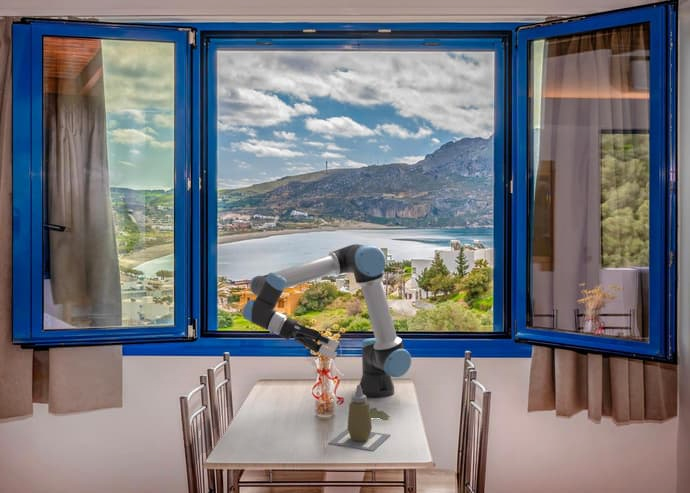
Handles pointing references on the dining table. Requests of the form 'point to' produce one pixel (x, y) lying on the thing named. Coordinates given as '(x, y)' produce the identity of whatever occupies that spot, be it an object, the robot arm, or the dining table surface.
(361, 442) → the pad
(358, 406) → the squeeze bottle
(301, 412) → the dining table surface
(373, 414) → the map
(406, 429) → the dining table surface
